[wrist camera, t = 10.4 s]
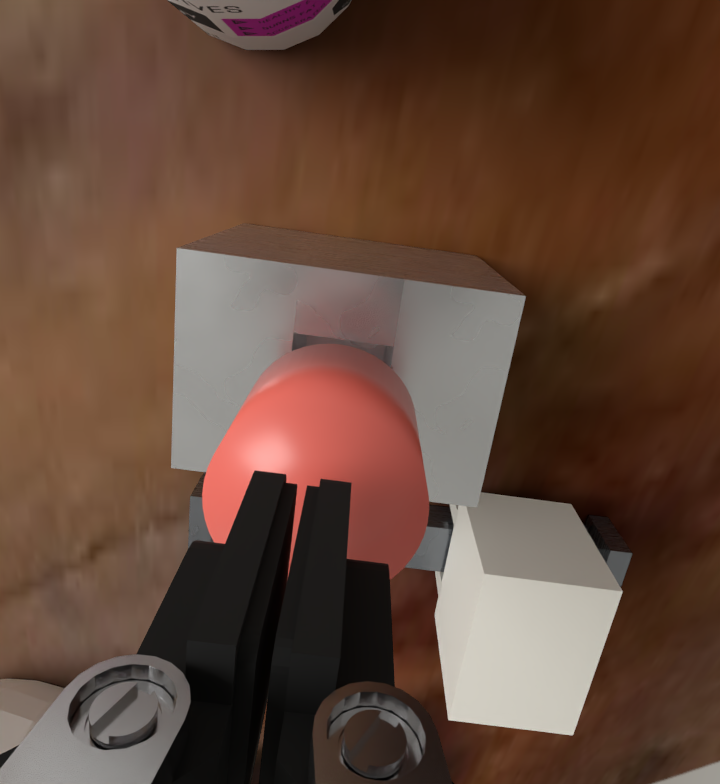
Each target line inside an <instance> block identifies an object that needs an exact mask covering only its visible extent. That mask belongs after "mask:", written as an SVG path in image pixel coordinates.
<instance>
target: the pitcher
mask: <svg viewBox="0 0 720 784" xmlns="http://www.w3.org/2000/svg"><path fill="white" fill-rule="evenodd" d="M64 689H65V688H62V687H59V686H55V685H52V684H48V683H45V682H41V681H37V680H23V679H9V678H8V679H0V754H2V753H4V752H6V751H8V750H10V749H12V748H14V747H16V746H18V745H20V743H21V742H22V741H23V740H24V738H25V737H26V736H27V735H28V733H29V732H30V731H31V730H32V728H33V727H34V726H35V725H36V723H37V722H38V721H39V720H40V718H41V717H42V716H43V715H44V713H45V712H46V711H47V710H48V708H49V707H50V706H51V705H52V703H53V702H54V701H55V700H56V698H57V697H58V696H59V695H60V694H61V692H62V691H63V690H64Z"/></svg>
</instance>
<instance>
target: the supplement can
mask: <svg viewBox="0 0 720 784" xmlns="http://www.w3.org/2000/svg"><path fill="white" fill-rule="evenodd" d="M167 1H169V2H170V3H171V4H172V5H174V6H175V7H176V8H177V9H178V10H180V11H181V12H182V13H183V14H184V15H186V16H187V17H188V18H189V19H190V20H192V21H193V22H194V23H195V24H196V25H198V26H199V27H200V28H201V29H202V30H204V31H205V32H206V33H207V34H208V35H210V36H213V37H215V38H218V39H220V40H223V41H225V42H228V43H230V44H233V45H235V46H237V47H240V48H242V49H245V50H285V49H287V48H289V47H292V46H294V45H296V44H299V43H301V42H303V41H306V40H308V39H311V38H313V37H315V36H318V35H320V34H321V33H322V32H323V31H324V30H325V29H326V28H327V27H328V26H329V25H330V24H331V23H332V22H333V21H334V20H335V19H336V18H337V17H338V16H339V15H340V14H341V13H342V12H343V11H344V10H345V9H346V8H347V7H348V6H349V4H350V2H351V0H167Z"/></svg>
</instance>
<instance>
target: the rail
mask: <svg viewBox="0 0 720 784" xmlns="http://www.w3.org/2000/svg"><path fill="white" fill-rule="evenodd" d="M205 475H206V472H204V473H203V475H202V477H201V479H200V480H199V482H198V484H197V485H196V487H195V489H194V491H193V492H192V494H191V496H190V516H189V542H188V548H189V547H190V545H191V543H192V542H193V541H195V540H198V541H206V542H214V541H213V539H212V537H211V535H210V533H209V531H208V527H207V524H206V521H205V517H204V512H203V503H202V492H203V483H204V478H205ZM584 527H585V528H586V530H587V532H588V533H589V535H590V537H591V538H592V540H593V542H594V543H595V545H596V547H597V549H598V550H599V552H600V554H601V555H602V557H603V559H604V560H605V562H606V564H607V566H608V567H609V569H610V571H611V572H612V574H613V576H614V577H615V579H616V581H617V583H618V584H619V586H620V588H621V585H622V583H623V580H624V577H625V574H626V571H627V568H628V565H629V562H630V559H631V556H632V554H633V553H632V552H631V550H630V549H629V547H628V546H627V545H626V543H625V542H624V540H623V539H622V537H621V536H620V534H619V533H618V531H617V530H616V528H615V527H614V525H613V524H612V522H611V521H610V519H609V518H608V517H601V516H593V515H588V518H587V521H586V525H584ZM453 528H454V524H453V519H452V515H451V510H450V507H442V506H435V505H429V516H428V523H427V527H426V531H425V534H424V537H423V539H422V541H421V544H420V546H419V548H418V549H417V551H416V553H415V554H414V556H413V557H412V559H411V560H410V561H409V562H408V564H407V565H406V566H405V567H408V568H415V569H423V570H431V571H439V572H444V569H445V565H446V560H447V555H448V551H449V546H450V542H451V537H452V532H453Z"/></svg>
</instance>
